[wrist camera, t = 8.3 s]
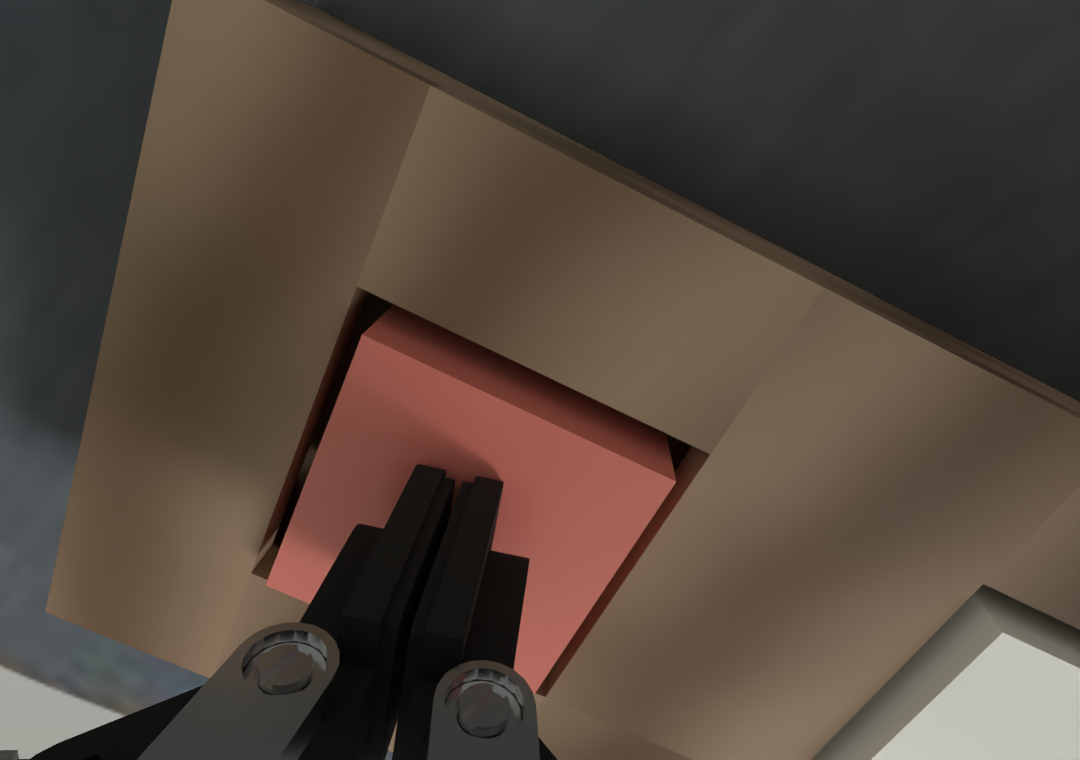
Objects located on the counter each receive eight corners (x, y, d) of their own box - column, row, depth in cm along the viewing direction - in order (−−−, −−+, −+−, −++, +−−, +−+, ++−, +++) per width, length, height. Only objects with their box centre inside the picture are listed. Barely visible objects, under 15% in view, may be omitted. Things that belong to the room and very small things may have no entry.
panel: (1324, 528, 17) (1598, 684, 12) (960, 830, 22) (1055, 1019, 18) (316, 7, 14) (181, -43, 10) (176, 493, 19) (45, 612, 15)
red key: (660, 409, 14) (676, 481, 11) (542, 599, 16) (531, 697, 14) (409, 289, 14) (362, 334, 11) (323, 503, 16) (265, 585, 13)
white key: (1139, 637, 16) (1255, 750, 13) (968, 784, 18) (1037, 907, 15) (928, 536, 15) (1002, 632, 12) (780, 701, 17) (815, 813, 14)
